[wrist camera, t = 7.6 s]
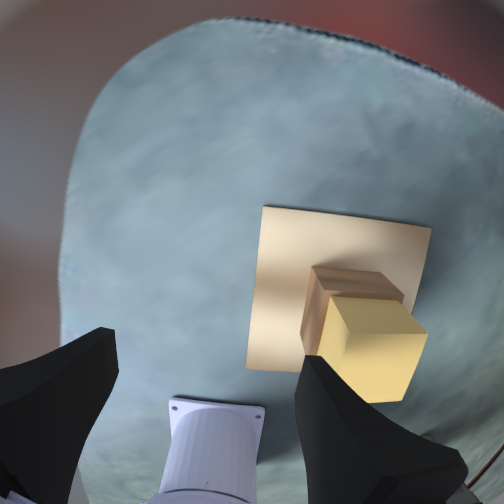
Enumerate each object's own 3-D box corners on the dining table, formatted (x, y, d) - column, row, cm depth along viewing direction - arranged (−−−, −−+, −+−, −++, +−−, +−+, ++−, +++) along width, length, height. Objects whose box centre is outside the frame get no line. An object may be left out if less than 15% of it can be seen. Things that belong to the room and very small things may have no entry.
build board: (390, 369, 24) (391, 371, 23) (245, 365, 23) (245, 369, 23) (429, 227, 20) (431, 228, 20) (263, 205, 20) (263, 206, 20)
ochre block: (378, 360, 18) (401, 400, 14) (315, 359, 18) (328, 403, 14) (397, 300, 17) (428, 334, 13) (330, 296, 17) (350, 332, 13)
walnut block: (364, 335, 22) (382, 366, 18) (299, 333, 22) (308, 365, 18) (380, 272, 21) (404, 294, 17) (311, 266, 21) (324, 289, 17)
